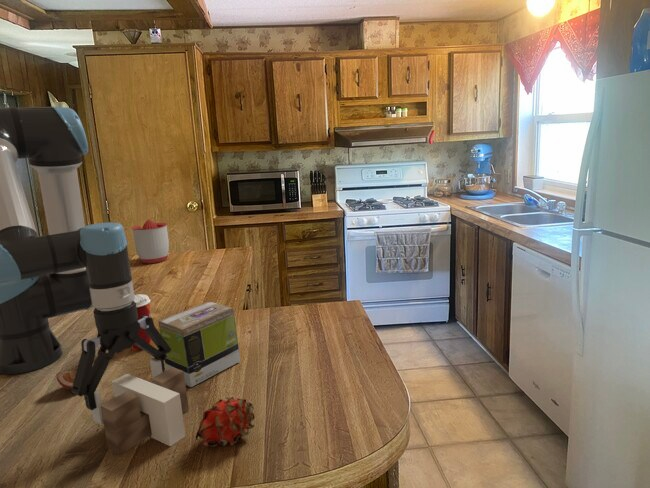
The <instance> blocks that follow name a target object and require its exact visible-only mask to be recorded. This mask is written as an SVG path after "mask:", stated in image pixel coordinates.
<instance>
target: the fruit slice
mask: <svg viewBox="0 0 650 488" xmlns="http://www.w3.org/2000/svg"><path fill="white" fill-rule="evenodd" d="M93 364H94V362H93ZM92 366H93V365H92ZM76 371H77V368H72V369H68V370H64V371H61V372H60V371H59V372H57V373H56V374H55V375H56V380H57V382H58V384H59V385H60V386H61V387H62V388H65V389H68V390H71V389H72V386H73V382H74V379H75V375H76Z"/></svg>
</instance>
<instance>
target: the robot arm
mask: <svg viewBox="0 0 650 488" xmlns="http://www.w3.org/2000/svg"><path fill="white" fill-rule="evenodd" d="M87 139H88V138H87V135H86V132H85V128H84V126H83V124H82V120H81V119H80V116H79V115H78V113H77V112H76V111H75V110H74V109H72V108H70V107H66V106H65V107H63V106H34V107H32V106H30V107H29V106H28V107H9V106H8V107H0V374H2V375H19V374H24V373H29V372H33V371H36V370H39V369H42V368H45V367H47V366H49V365H51V364H53V363H55V362H56V361H58V360H59V359H60V358H61V357H62V355H63V350H62V349H63V348H62V345H61V343H60V341H59V340H58V338H57V337H56V335H55V334H54V332H53V331H52V329H51V327H50V322H49V319H51V318H55V317H59V316H64V315H68V314H72V313H76V312H80V311H81V312H82V311H87V310H90V309H91V308H94V309H93V317H94V322H95V327H96V331H97V336H96V337H94V338H90V339H88V338H83V339H82V340H81V343H80V344H81V353H80V357H79V360H78V365H77V368H76V369H77V371H76V375H75V379H74V382H73V386H72V389H70V390H71V393H72V394H74V395H77V396H79V397H83V398H84V402H85V407H86V408H87V409H88V410H90V411H91V415H92V420H93V422H95V423H96V424H97V423H98V424H99V425H104V424H103V418H102V413H101V407H100V405H102V403H103V402H102V396H101V392H100V391H98V390H97V388H98V387H99V384H100V383H101V380H102V378H103V377H104V373H105V372H106V370H107V368H108V365H109V363H110V362H111V360H113V359H114V357H115V354H121V353H122V352H123V351H125V350H127V349H128V350H129V349H132V348H131V347H132V345H133V344H135V345H136V346H138V347H139V348H141V349H142V350H141V351H144V352H145V353H147V354H148V355H150V356H151V357H153V358H150V359H149V364H150V372H151V378H153V377H155V376H157V375H159V374H161V373H162V372H164V371H166V366H165V359H166V358H167V355H165V354H167V353H169V352H170V351H171V348H170V347H169V345H168V344H167V343H166V341H165V340H164V339H163V337H162V336H161V334H160V331H158V329H157V327H156V326H155V323H154V320H153V318H152V317H147V316H141V318H140V320H138V313H137V307H136V303H135V302H134V301H133V300H134V299H135V296H134V295H135V291H134V289H135V288H134V284H133V278H132V270H131V269H132V268H131V264H130V257H129V250H128V238H127V237H126V233H125V228H124V226H123V225H122V224H121V223H119V222H111V221H108V222H100V223H99V222H97V223H92V224H88V225H86V224H85V217H84V211H83V202H82V196H81V190H80V181H79V177H78V175H79V174H78V168H79V167H81V165H82V164H83V158H82V157H83V156H85V155H87V154H88V152H89V144H88V140H87ZM18 159H27V160H28V165H29V166H30V167H31V168H32V169H34V170H35V171H37V174H38V179H39V180H38V181H39V184H40V185H39V186H40V191H41V196H42V203H43V208H44V215H45V221H46V225H47V226H46V227H47V231H48V232H47V233H48V234H47V235H38V232H37V229H36V226H35V222H34V219H33V214H32V213H31V210H30V206H29V203H28V199H27V196H26V194H25V193H26V192H25V190H24V187H23V184H22V180H21V177H20V174H19V170H18V167H17V165H16V163H17V161H18ZM137 320H138V321H137ZM140 327H141V328H143V329H144V330H145V332H146V333H147V334H148V336H149V337H150V338H151V340H152V341H153V344H154V345H155V346H156V347H157V348H156V347H155V346H153V345H152V346H151V345H150V344H148V343H147V342H146V341H144V340H143V339H142V338H141V337H139V336H138V333H139V330H140ZM99 345H100V347H99V348H98V346H99ZM97 350H98V351H97ZM96 351H97V356H96ZM95 357H96V358H95ZM93 363H94V364H93ZM92 365H93V366H92Z"/></svg>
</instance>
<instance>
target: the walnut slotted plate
mask: <svg viewBox="0 0 650 488" xmlns="http://www.w3.org/2000/svg"><path fill="white" fill-rule="evenodd" d="M150 382H151V383H153V384H156V385H159V386H161V387H164V388H166V389H169V390H172V391H174V392H177V393H179V394H180V400H181V407H182V414H183V415H184V414H185V413H188V412H189V410H190V408H189V402H188V394H187V388H186V386H187V385H185V378H184V371H182V370H179V369H176V368H173V367H172V368H170V369H168V370H166V369H165V371H164V372H162V373H161V374H159V375H157V376H155V377H153V378H152V377H151V378H150ZM100 407H101V413H102V418H103V424H102V425H103V429H104V433H105V438H106V446H107V450H109V451H111V452H113V453H115V454H116V455H118V456H121V455H122V454H124V453H125V452H127V451H128V450H130V449H131V448H132V447H134V446H136V445H138V444H139V443H141V442H142V441H144V440H145V439H147V438H149V437H150V436H152V432H151V425H150V419H149V414H147V413H144V412H142V411H140V409H139V403H138V397H137V396H135V395H133V394H130V393H128V392H125V393H123V394H121V395H119V396H117V397H113V398H112V399H109V400H108V401H106V402H105V403H103V404H102V405H100Z"/></svg>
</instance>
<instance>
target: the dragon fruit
mask: <svg viewBox="0 0 650 488" xmlns="http://www.w3.org/2000/svg"><path fill="white" fill-rule="evenodd" d="M254 409H255V407H254V404H253V403H251V402H250V401H247V399H245V398H239V397H237V398H236V399H235V398H234V397H232V396H227V397H226V400H225V399H222V398H221V399H219V400H218V401H215V402H214V403H213V404H212V407H210V408H208V409H206V410H205V411H204V412H203V415H202V420H201V422H200V424H199V426H198V429H197V432H196V434H195V440H196V441H198V440H199V439H202V440H204V441H203V442H202V441H201V442H202V444H203V446H204V447H216V446H217V445H218V444H219V445H220V446H222V447H225V446H226V445H227V444H228V443H229V445H230V446H233V445H235V444H236V443H238V441H239V438H240V439H241V438H242V436H243V437H244V436H245V437H246V436H247V435H249V431H250V430H251V429H253V428H254V427H255V424H252V422H253V421H254V420H255V414H254ZM245 430H246V431H245Z"/></svg>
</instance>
